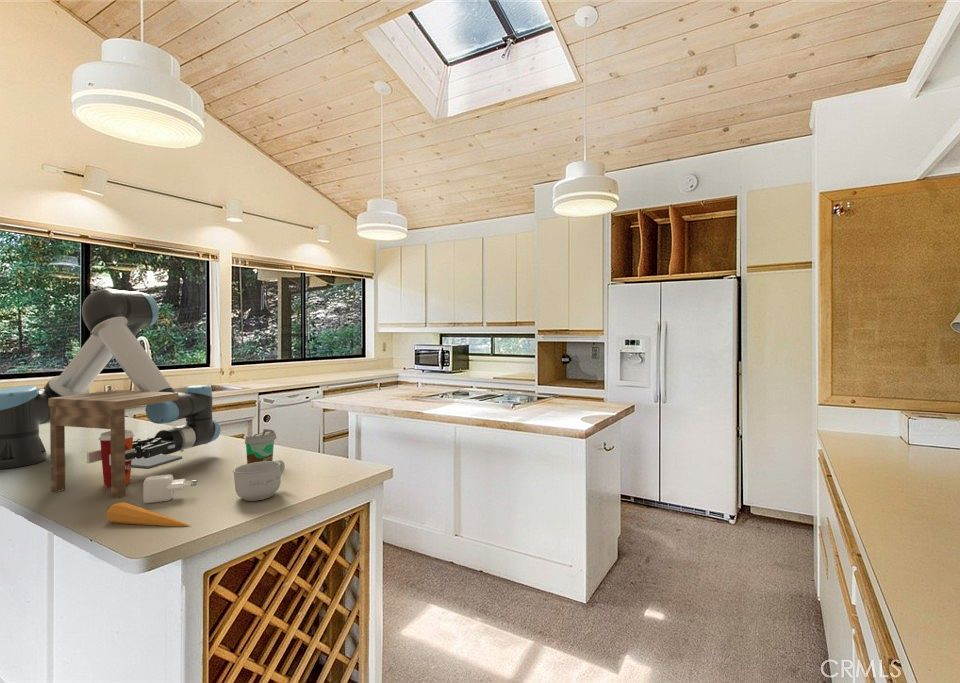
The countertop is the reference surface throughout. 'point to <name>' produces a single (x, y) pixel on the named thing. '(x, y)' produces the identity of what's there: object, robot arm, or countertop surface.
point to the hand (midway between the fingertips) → (99, 459)
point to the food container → (260, 446)
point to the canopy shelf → (101, 414)
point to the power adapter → (163, 487)
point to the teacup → (258, 479)
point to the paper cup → (106, 451)
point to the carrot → (139, 516)
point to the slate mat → (153, 461)
